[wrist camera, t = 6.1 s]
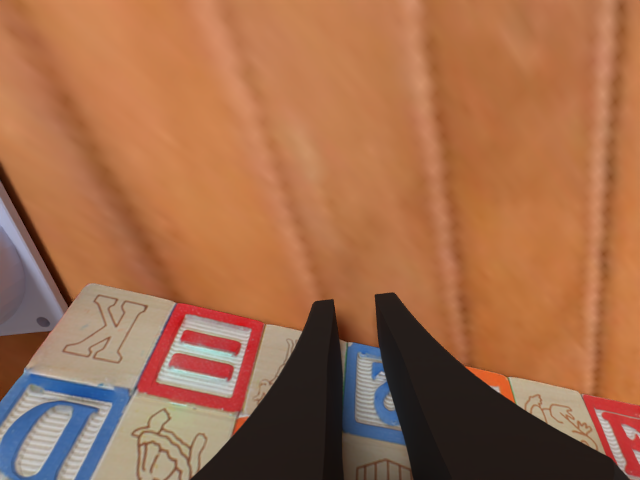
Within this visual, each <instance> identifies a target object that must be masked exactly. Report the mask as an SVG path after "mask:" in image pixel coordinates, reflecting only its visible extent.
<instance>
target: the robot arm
mask: <svg viewBox="0 0 640 480" xmlns="http://www.w3.org/2000/svg"><path fill="white" fill-rule="evenodd" d="M375 304H376V317H377V330H378V342H379V347H380V353H381V358H382V364H383V369H384V373H385V376H386V379H387V383H388V386H389V390H390V393H391V396H392V400H393V403H394V406H395V410H396V413H397V416H398V420H399V423H400V426H401V430H402V433H403V436H404V440H405V444H406V448H407V452H408V456H409V461H410V466H411V471H412V476H413V480H630V479H629V478H628V476H627V475H626V474H625V473H624V472H623V471H622V470H621V469H620V468H619V467H618V465H617V464H616V463H615V462H614V461H613V459H612V458H610V457H608V456H606V455H605V454H603V453H601V452H599V451H597V450H595V449H593V448H591V447H589V446H588V445H586V444H584V443H582V442H580V441H578V440H576V439H574V438H572V437H571V436H569V435H567V434H565V433H563V432H561V431H559V430H558V429H556V428H554V427H552V426H551V425H549V424H547V423H546V422H544V421H542V420H541V419H539V418H537V417H536V416H534V415H532V414H531V413H529V412H527V411H526V410H524V409H523V408H521V407H520V406H518V405H517V404H515V403H514V402H512V401H511V400H509V399H508V398H506V397H505V396H503V395H502V394H500V393H499V392H497V391H496V390H494V389H493V388H492V387H490V386H489V385H488V384H486V383H485V382H484V381H482V380H481V379H480V378H478V377H477V376H476V375H475V374H473V373H472V372H471V371H470V370H468V369H467V368H466V367H465V366H463V365H462V364H461V363H460V362H459V361H458V360H456V359H455V358H454V357H453V356H452V355H451V354H450V353H449V352H448V351H447V350H445V349H444V348H443V347H442V346H441V345H440V344H439V343H438V342H437V341H436V340H435V339H434V338H433V337H432V336H431V335H430V334H429V333H428V332H427V331H426V330H425V329H424V327H423V326H422V325H421V324H420V323H419V322H418V321H417V320H416V319H415V318H414V316H413V315H412V314H411V313H410V312H409V311H408V309H407V308H406V307H405V306H404V304H403V303H402V302H401V300H400V299H399V298H398V296H397V295H396V294H395V293H384V294H375ZM67 309H68V306H67V304H66V302H65V301H64V299H63V297H62V295H61V293H60V291H59V289H58V287H57V286H56V284H55V282H54V280H53V278H52V276H51V274H50V273H49V271H48V269H47V267H46V265H45V263H44V261H43V259H42V258H41V256H40V254H39V252H38V250H37V248H36V246H35V245H34V243H33V241H32V239H31V237H30V235H29V233H28V231H27V230H26V228H25V226H24V224H23V222H22V220H21V218H20V217H19V215H18V213H17V211H16V209H15V207H14V205H13V203H12V202H11V200H10V198H9V196H8V194H7V192H6V190H5V189H4V187H3V185H2V183H1V181H0V336H4V335H14V334H24V333H35V332H45V331H52V330H53V329H54V327H55V326H56V325H57V323H58V322H59V321H60V319H61V318H62V316H63V315H64V314H65V312H66V311H67ZM342 403H343V371H342V360H341V349H340V341H339V334H338V327H337V320H336V313H335V307H334V300H333V299H331V300H322V301H315V302H314V303H313V304H312V308H311V311H310V314H309V317H308V319H307V322H306V324H305V327H304V329H303V331H302V333H301V335H300V337H299V340H298V342H297V344H296V346H295V348H294V350H293V352H292V353H291V355H290V357H289V359H288V360H287V362H286V364H285V366H284V368H283V369H282V371H281V373H280V374H279V376H278V377H277V379H276V380H275V382H274V383H273V385H272V386H271V388H270V389H269V391H268V392H267V394H266V395H265V396H264V398H263V399H262V400H261V402H260V403H259V404H258V406H257V407H256V408H255V410H254V411H253V412H252V414H251V415H250V416H249V417H248V419H247V420H246V421H245V422H244V423H243V425H242V426H241V427H240V428H239V429H238V430H237V431H236V433H235V434H234V435H233V436H232V437H231V438H230V439H229V440H228V441H227V443H226V444H225V445H224V446H223V447H222V448H221V449H220V450H219V451H218V453H217V454H216V455H215V456H214V457H213V458H212V459H211V460H210V461H209V462H208V463H207V464H206V465H205V466H204V467H203V468H201V469H200V470H199V471H198V472H197V473H196V474H195V475H194V476H193V477H192V478H191V479H190V480H344V473H343V459H342Z"/></svg>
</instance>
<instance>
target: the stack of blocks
mask: <svg viewBox="0 0 640 480" xmlns="http://www.w3.org/2000/svg"><path fill="white" fill-rule="evenodd" d="M301 333H302V331H299V330H295V329H290V328H286V327H281V326H277V325H269V324H264V323H262V322H260V321H257V320H253V319H249V318H245V317H241V316H236V315H232V314H228V313H223V312H219V311H215V310H210V309H206V308H202V307H197V306H193V305H188V304H184V303H182V304H180V303H175V302H173V301H170V300H166V299H162V298H158V297H154V296H150V295H145V294H141V293H136V292H132V291H127V290H123V289H118V288H114V287H109V286H105V285H100V284H94V283H93V284H87V285H86V286H85V287H84V288H83V289H82V291H81V292H80V293H79V294H78V296H77V297H76V298H75V300H74V301H73V302H72V304H71V305H70V307H69V308H68V309H67V311H66V312H65V314H64V315H63V316H62V318H61V319H60V321H59V322H58V323H57V325H56V326H55V327H54V329H53V330H52V331H51V332H50V333H49V335H48V337H47V338H46V339H45V341H44V342H43V343H42V345H41V346H40V347H39V348H38V350H37V351H36V352H35V354H34V355H33V357H32V358H31V360H30V361H29V363H28V365H27V366H26V367H25V368H24V373H23V374H22V375H21V377H20V378H19V379H18V380H17V381H16V382H15V384H14V385H13V386H12V387H11V389H10V390H9V391H8V393H7V394H6V395H5V397H4V398H3V399H2V400H1V402H0V480H190V479H191V478H192V477H193V476H194V475H195V474H196V473H197V472H198V471H199V470H200V469H201V468H203V467H204V466H205V465H206V464H207V463H208V462H209V461H210V460H211V459H212V458H213V457H214V456H215V455H216V454H217V453H218V451H219V450H220V449H221V448H222V447H223V446H224V445H225V444H226V443H227V441H228V440H229V439H230V438H231V437H232V436H233V435H234V434H235V433H236V431H237V430H238V429H239V428H240V427H241V426H242V425H243V423H244V422H245V421H246V420H247V419H248V417H249V416H250V415H251V414H252V412H253V411H254V410H255V408H256V407H257V406H258V404H259V403H260V402H261V400H262V399H263V398H264V396H265V395H266V394H267V392H268V391H269V389H270V388H271V386H272V385H273V383H274V382H275V380H276V379H277V377H278V376H279V374H280V373H281V371H282V369H283V368H284V366H285V364H286V362H287V360H288V359H289V357H290V355H291V353H292V352H293V350H294V348H295V346H296V344H297V342H298V340H299V337H300V335H301ZM339 341H340V349H341V360H342V371H343V403H342V459H343V473H344V480H413V476H412V471H411V466H410V461H409V456H408V452H407V448H406V444H405V440H404V436H403V433H402V430H401V426H400V423H399V420H398V416H397V413H396V410H395V406H394V403H393V400H392V396H391V393H390V390H389V386H388V383H387V379H386V376H385V373H384V369H383V364H382V358H381V353H380V348H377V347H372V346H368V345H363V344H359V343H354V342H345V341H343V340H339ZM465 367H466V368H467V369H468V370H470V371H471V372H472V373H473V374H475V375H476V376H477V377H478V378H480V379H481V380H482V381H484V382H485V383H486V384H488V385H489V386H490V387H492V388H493V389H494V390H496V391H497V392H499V393H500V394H502V395H503V396H505V397H506V398H508V399H509V400H511V401H512V402H514V403H515V404H517V405H518V406H520V407H521V408H523V409H524V410H526V411H527V412H529V413H531V414H532V415H534V416H536V417H537V418H539V419H541V420H542V421H544V422H546V423H547V424H549V425H551V426H552V427H554V428H556V429H558V430H559V431H561V432H563V433H565V434H567V435H569V436H571V437H572V438H574V439H576V440H578V441H580V442H582V443H584V444H586V445H588V446H589V447H591V448H593V449H595V450H597V451H599V452H601V453H603V454H605V455H606V456H608V457H610V458H612V459H613V461H614V462H615V463H616V464H617V465H618V467H619V468H620V469H621V470H622V471H623V472H624V473H625V474H626V475H627V476H628V478H629V479H630V480H640V405H635V404H630V403H625V402H620V401H615V400H611V399H606V398H601V397H596V396H591V395H587V394H580V393H579V392H578V391H575V390H571V389H567V388H563V387H558V386H553V385H549V384H545V383H541V382H536V381H531V380H526V379H521V378H516V377H505V376H504V375H502V374H498V373H494V372H490V371H485V370H481V369H476V368H472V367H467V366H465Z"/></svg>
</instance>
